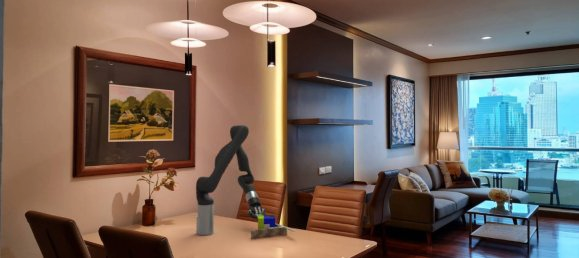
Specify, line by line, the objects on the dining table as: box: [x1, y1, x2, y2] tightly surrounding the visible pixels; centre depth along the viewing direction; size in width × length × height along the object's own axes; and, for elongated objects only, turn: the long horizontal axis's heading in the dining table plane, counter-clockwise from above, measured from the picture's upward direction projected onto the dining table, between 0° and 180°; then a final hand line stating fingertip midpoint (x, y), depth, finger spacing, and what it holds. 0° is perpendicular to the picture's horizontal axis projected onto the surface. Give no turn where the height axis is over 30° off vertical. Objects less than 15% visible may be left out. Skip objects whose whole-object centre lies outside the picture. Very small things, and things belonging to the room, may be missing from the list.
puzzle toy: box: [257, 214, 276, 230], centre depth 243 cm, size 10×10×10 cm
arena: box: [250, 222, 296, 240], centre depth 238 cm, size 22×28×5 cm
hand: (261, 223), depth 248 cm, fingers closed
